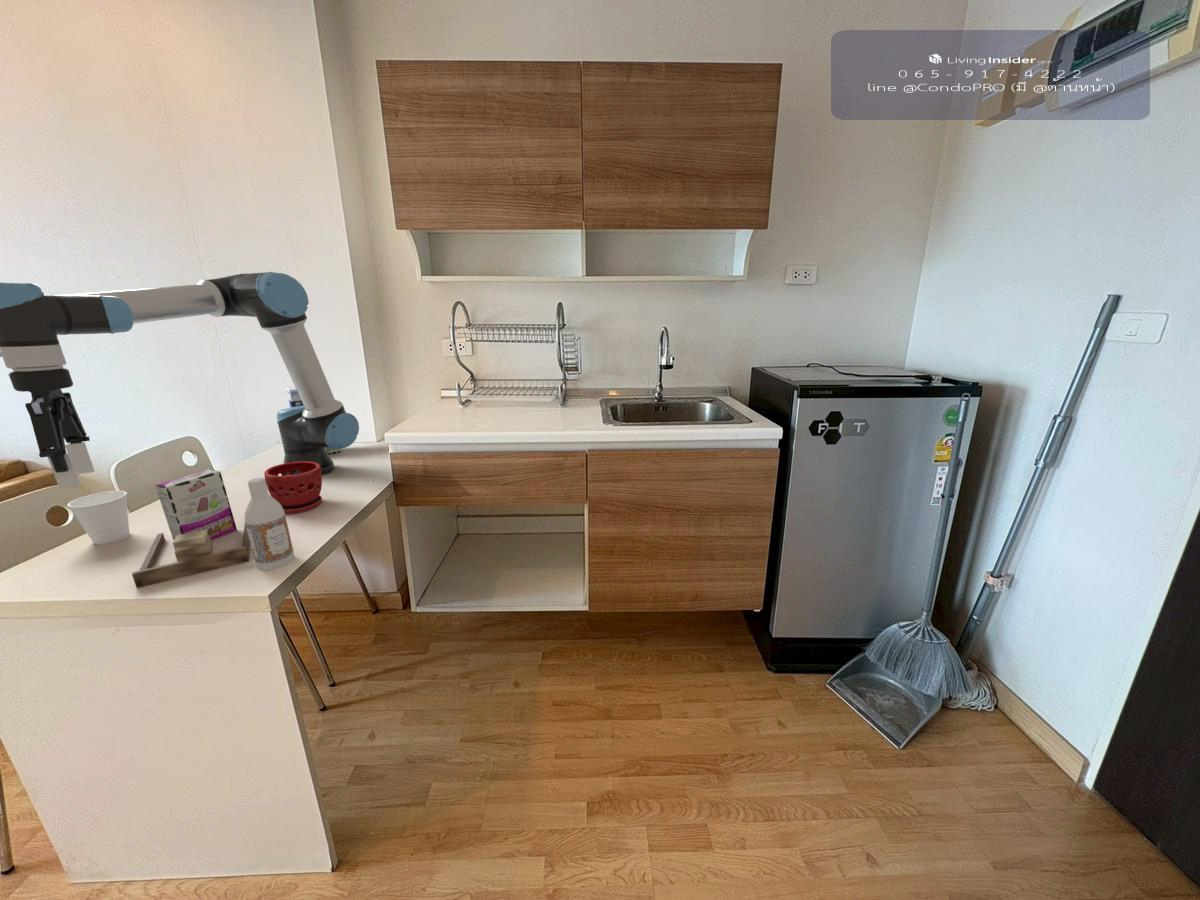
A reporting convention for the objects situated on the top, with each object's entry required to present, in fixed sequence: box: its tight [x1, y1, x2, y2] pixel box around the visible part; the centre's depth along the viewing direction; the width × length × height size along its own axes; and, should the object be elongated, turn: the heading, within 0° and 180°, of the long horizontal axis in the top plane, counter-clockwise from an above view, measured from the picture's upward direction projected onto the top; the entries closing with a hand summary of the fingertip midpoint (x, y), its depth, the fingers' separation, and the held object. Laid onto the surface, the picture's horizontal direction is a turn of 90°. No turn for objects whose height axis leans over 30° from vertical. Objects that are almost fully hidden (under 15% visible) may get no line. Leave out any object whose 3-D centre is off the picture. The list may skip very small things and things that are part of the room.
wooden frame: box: [131, 523, 251, 589], centre depth 106 cm, size 18×24×4 cm
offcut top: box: [172, 529, 209, 552], centre depth 100 cm, size 5×4×2 cm
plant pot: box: [263, 461, 323, 515], centre depth 129 cm, size 13×13×12 cm
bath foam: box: [244, 477, 296, 572], centre depth 98 cm, size 7×7×20 cm
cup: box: [66, 490, 131, 545], centre depth 111 cm, size 10×10×11 cm
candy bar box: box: [154, 468, 238, 541], centre depth 110 cm, size 11×5×16 cm, turn 159°
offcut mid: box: [174, 536, 213, 562], centre depth 100 cm, size 6×5×2 cm
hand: (77, 479), depth 95 cm, fingers open, 9 cm apart
